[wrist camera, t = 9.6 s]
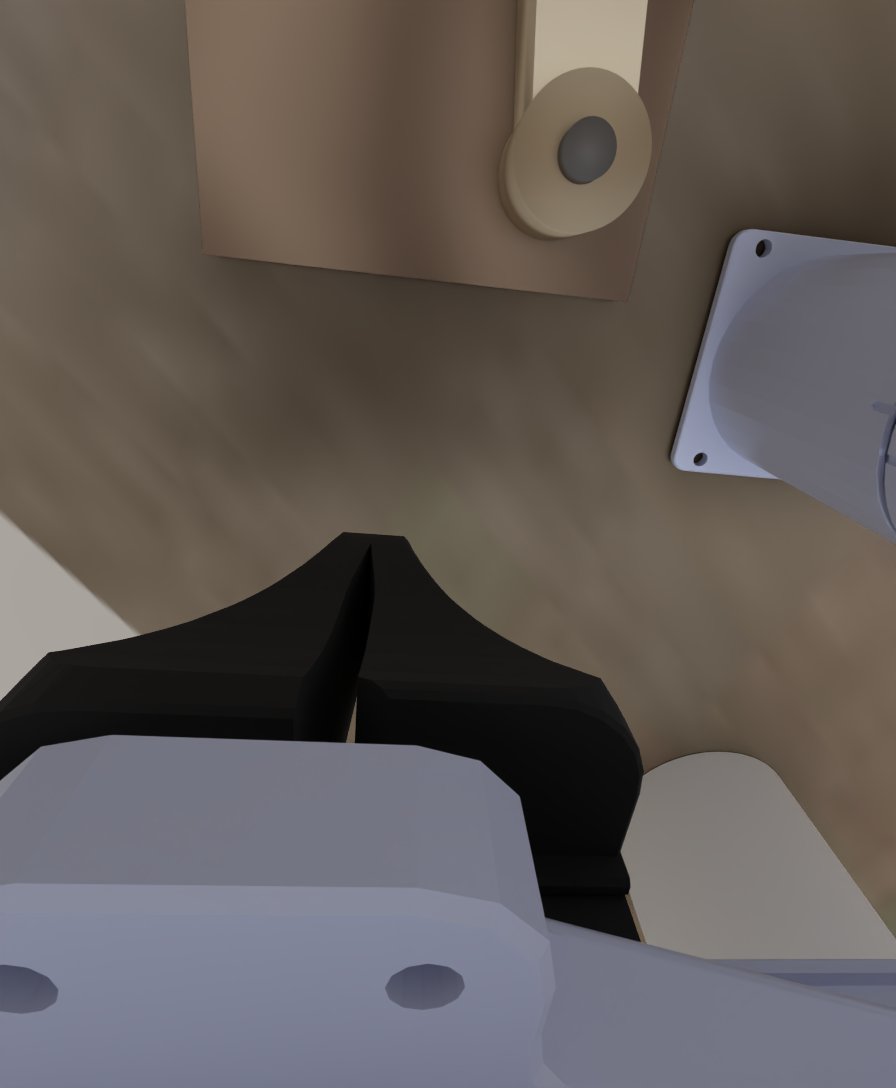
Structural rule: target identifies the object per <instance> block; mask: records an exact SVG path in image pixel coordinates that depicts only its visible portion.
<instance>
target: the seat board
mask: <svg viewBox="0 0 896 1088" xmlns="http://www.w3.org/2000/svg"><path fill="white" fill-rule="evenodd" d="M693 3H694V0H648V3H647V13H646V22H645V32H644V41H643V51H642V60H641V70H640V79H639V89H638V95H639V96H640V98H641V100H642V101H643V104H644V106H645V108H646V111H647V114H648V117H649V121H650V126H651V132H652V151H651V158H650V164H649V168H648V171H647V175H646V177H645V180H644V182H643V185H642V187H641V189H640V191H639V193H638V194H637V196H636V197H635V199H634V200H633V202H632V203H631V204H630V205H629V207H628V208H627V209H626V210H625V211H624V212H623V213H622V214H621V215H620V216H619V217H617V218H616V219H615V220H613V221H612V222H611V223H609V224H607V225H605V226H603V227H601V228H598V229H596V230H593V231H589V232H586V233H582V234H579V235H575V236H571V237H568V238H564V239H560V240H552V241H548V240H540V239H536V238H533V237H531V236H529V235H527V234H525V233H524V232H522V231H521V230H520V229H518V228H517V227H516V226H515V225H514V223H513V222H512V221H511V220H510V218H509V217H508V215H507V213H506V212H505V210H504V207H503V205H502V202H501V198H500V195H499V188H498V169H499V163H500V158H501V155H502V152H503V149H504V147H505V145H506V142H507V141H508V139H509V137H510V136H511V134H512V132H513V126H514V94H515V61H516V29H517V0H185V9H186V23H187V37H188V51H189V65H190V79H191V93H192V107H193V121H194V135H195V149H196V163H197V177H198V191H199V205H200V219H201V233H202V247H203V254H205V255H214V256H222V257H231V258H240V259H249V260H258V261H267V262H276V263H284V264H293V265H302V266H311V267H320V268H329V269H337V270H346V271H355V272H364V273H373V274H382V275H391V276H399V277H408V278H417V279H426V280H435V281H444V282H452V283H461V284H470V285H479V286H488V287H497V288H506V289H514V290H523V291H532V292H541V293H550V294H559V295H567V296H576V297H585V298H594V299H603V300H612V301H621V302H628V301H629V297H630V292H631V288H632V283H633V278H634V274H635V269H636V265H637V260H638V255H639V251H640V246H641V242H642V237H643V233H644V228H645V223H646V219H647V214H648V210H649V205H650V200H651V196H652V191H653V187H654V182H655V178H656V173H657V168H658V164H659V159H660V155H661V150H662V145H663V141H664V136H665V132H666V127H667V123H668V118H669V113H670V109H671V104H672V100H673V95H674V90H675V86H676V81H677V77H678V72H679V67H680V63H681V58H682V54H683V49H684V45H685V40H686V35H687V31H688V26H689V22H690V17H691V12H692V8H693Z"/></svg>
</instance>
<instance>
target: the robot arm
mask: <svg viewBox="0 0 896 1088" xmlns="http://www.w3.org/2000/svg"><path fill="white" fill-rule="evenodd" d="M761 240H762V241H764V244H765V251H764V253H763V255H761V256H760V257H758V256H757V254H756V246H757V244H758V243H759V242H760V241H761ZM698 453H703V457H702V459H701V460H700V461H699V462H698V463H694V462H693V461H694V457H695V455H697V454H698ZM671 462H672V464H673V465H674V466H675V467H676V468H678V469H679V470H683V471H693V472H704V473H715V474H726V475H737V476H749V477H760V478H771V479H781V480H782V481H784V482H786V483H788V484H790V485H791V486H793V487H795V488H797V489H798V490H800V491H802V492H804V493H806V494H807V495H809V496H811V497H813V498H814V499H816V500H818V501H820V502H822V503H823V504H825V505H827V506H829V507H830V508H832V509H834V510H836V511H838V512H839V513H841V514H843V515H845V516H846V517H848V518H850V519H852V520H854V521H855V522H857V523H859V524H861V525H862V526H864V527H866V528H868V529H870V530H871V531H873V532H875V533H877V534H878V535H880V536H882V537H884V538H886V539H887V540H889V541H891V542H893V543H894V544H896V247H892V246H885V245H877V244H869V243H861V242H853V241H845V240H837V239H829V238H821V237H813V236H805V235H797V234H789V233H781V232H774V231H766V230H758V229H748V230H742V231H740V232H738V233H736V235H735V236H734V237H733V238H732V239H731V241H730V243H729V246H728V250H727V253H726V257H725V260H724V264H723V268H722V271H721V275H720V279H719V282H718V286H717V289H716V293H715V297H714V300H713V304H712V307H711V311H710V315H709V318H708V322H707V326H706V329H705V333H704V336H703V340H702V344H701V347H700V351H699V355H698V358H697V362H696V365H695V369H694V373H693V376H692V380H691V384H690V387H689V391H688V394H687V398H686V402H685V405H684V409H683V412H682V416H681V420H680V423H679V427H678V431H677V434H676V438H675V441H674V445H673V449H672V452H671ZM356 697H357V708H356V730H355V743H346V740H347V735H348V731H349V727H350V723H351V719H352V714H353V710H354V706H355V702H356ZM643 772H644V771H643V766H642V761H641V756H640V751H639V748H638V746H637V744H636V741H635V739H634V737H633V735H632V733H631V731H630V729H629V727H628V725H627V723H626V721H625V719H624V717H623V715H622V713H621V711H620V709H619V708H618V706H617V704H616V702H615V701H614V699H613V698H612V696H611V695H610V693H609V691H608V690H607V688H606V687H605V685H604V683H603V681H602V680H601V678H598V677H595V676H592V675H589V674H587V673H584V672H581V671H578V670H575V669H572V668H570V667H567V666H564V665H561V664H558V663H555V662H553V661H550V660H548V659H545V658H543V657H541V656H539V655H537V654H535V653H533V652H530V651H528V650H526V649H524V648H522V647H520V646H518V645H516V644H514V643H513V642H511V641H509V640H507V639H505V638H504V637H502V636H500V635H499V634H497V633H496V632H494V631H492V630H491V629H489V628H488V627H486V626H484V625H483V624H482V623H480V622H479V621H477V620H476V619H475V618H473V617H472V616H471V615H470V614H468V613H467V612H466V611H465V610H463V609H462V608H461V607H460V606H459V605H457V604H456V603H455V602H454V601H453V600H452V599H451V598H450V597H449V596H448V595H447V594H446V593H445V592H444V591H443V590H442V589H441V588H440V587H439V586H438V584H437V583H436V582H435V581H434V580H433V578H432V577H431V576H430V574H429V573H428V572H427V570H426V569H425V568H424V566H423V565H422V564H421V562H420V561H419V559H418V557H417V556H416V554H415V553H414V551H413V549H412V547H411V545H410V543H409V542H408V540H407V539H406V538H405V537H404V536H392V535H377V534H363V533H349V532H343V533H342V534H340V535H339V536H338V537H337V538H335V539H334V540H333V541H332V542H331V543H329V544H328V545H327V546H326V547H325V548H323V549H322V550H321V551H320V552H319V553H317V554H316V555H315V556H314V557H312V558H311V559H310V560H309V561H307V562H306V563H305V564H303V565H302V566H301V567H299V568H298V569H296V570H295V571H293V572H292V573H290V574H289V575H287V576H286V577H284V578H283V579H281V580H280V581H278V582H277V583H275V584H273V585H272V586H270V587H268V588H266V589H264V590H263V591H261V592H259V593H257V594H255V595H253V596H251V597H249V598H247V599H245V600H243V601H241V602H239V603H236V604H234V605H232V606H229V607H227V608H224V609H221V610H219V611H216V612H214V613H211V614H208V615H206V616H203V617H201V618H198V619H195V620H193V621H190V622H187V623H183V624H180V625H177V626H173V627H170V628H167V629H163V630H159V631H155V632H152V633H148V634H144V635H140V636H136V637H132V638H127V639H123V640H118V641H112V642H107V643H101V644H96V645H91V646H85V647H80V648H74V649H69V650H63V651H56V652H49V653H48V654H47V655H46V656H45V657H43V658H42V659H41V660H40V661H39V662H38V663H37V664H36V665H35V666H34V667H33V668H32V669H31V670H30V671H29V672H28V673H27V674H26V675H25V676H24V677H23V678H22V679H21V680H20V681H19V682H18V683H17V685H15V687H14V688H13V689H12V690H11V691H10V692H9V693H8V694H7V695H6V696H5V697H4V698H3V699H2V700H1V701H0V1088H896V959H703V958H700V957H696V956H692V955H688V954H684V953H680V952H676V951H672V950H669V949H665V948H661V947H657V946H653V945H649V944H645V943H641V941H640V938H639V935H638V932H637V929H636V926H635V923H634V921H633V918H632V915H631V912H630V909H629V906H628V903H627V900H626V897H625V894H626V895H628V893H629V890H630V887H631V886H630V876H629V874H628V871H627V868H626V866H625V863H624V860H623V857H622V855H621V852H620V851H621V848H622V845H623V842H624V839H625V836H626V833H627V830H628V828H629V825H630V822H631V819H632V816H633V813H634V810H635V807H636V804H637V801H638V798H639V795H640V790H641V784H642V778H643Z"/></svg>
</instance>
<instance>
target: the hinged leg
mask: <svg viewBox="0 0 896 1088" xmlns="http://www.w3.org/2000/svg"><path fill="white" fill-rule="evenodd" d="M647 3H648V0H517V29H516V61H515V94H514V126H513V132H512V134H511V136H510V137H509V139H508V141H507V142H506V145H505V147H504V149H503V152H502V155H501V158H500V163H499V169H498V188H499V195H500V198H501V202H502V205H503V207H504V210H505V212H506V213H507V215H508V217H509V218H510V220H511V221H512V222H513V223H514V225H515V226H516V227H517V228H518V229H520V230H521V231H522V232H524V233H525V234H527V235H529V236H531V237H533V238H536V239H540V240H548V241H552V240H560V239H564V238H568V237H571V236H575V235H579V234H582V233H586V232H589V231H593V230H596V229H598V228H601V227H603V226H605V225H607V224H609V223H611V222H612V221H613V220H615V219H616V218H617V217H619V216H620V215H621V214H622V213H623V212H624V211H625V210H626V209H627V208H628V207H629V205H630V204H631V203H632V202H633V200H634V199H635V197H636V196H637V194H638V193H639V191H640V189H641V187H642V185H643V182H644V180H645V177H646V175H647V171H648V168H649V164H650V158H651V151H652V132H651V126H650V121H649V117H648V114H647V111H646V108H645V106H644V104H643V101H642V100H641V98H640V96H639V95H638V89H639V79H640V70H641V60H642V51H643V41H644V32H645V22H646V13H647Z"/></svg>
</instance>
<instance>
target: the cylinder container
mask: <svg viewBox="0 0 896 1088" xmlns="http://www.w3.org/2000/svg"><path fill="white" fill-rule="evenodd" d="M620 852H621V855H622V857H623V860H624V863H625V866H626V868H627V871H628V874H629V876H630V886H631V887H630V890H629V893H630V896H631V899H632V902H633V905H634V908H635V911H636V914H637V917H638V919H639V922H640V925H641V928H642V931H643V934H644V937H645V940H646V943H647V944H649V945H653V946H657V947H661V948H665V949H669V950H672V951H676V952H680V953H684V954H688V955H692V956H696V957H700V958H703V959H896V939H895V938H894V936H893V935H892V934H891V932H890V931H889V930H888V928H887V927H886V925H885V924H884V923H883V921H882V920H881V918H880V917H879V916H878V914H877V913H876V911H875V910H874V909H873V907H872V906H871V904H870V903H869V902H868V900H867V899H866V897H865V896H864V895H863V893H862V892H861V890H860V889H859V888H858V886H857V885H856V883H855V882H854V881H853V879H852V878H851V876H850V875H849V874H848V872H847V871H846V869H845V868H844V867H843V865H842V864H841V862H840V861H839V860H838V858H837V857H836V855H835V854H834V853H833V851H832V850H831V848H830V847H829V846H828V844H827V843H826V841H825V840H824V839H823V837H822V836H821V834H820V833H819V832H818V830H817V829H816V827H815V826H814V825H813V823H812V822H811V820H810V819H809V818H808V816H807V815H806V813H805V812H804V811H803V809H802V808H801V806H800V805H799V804H798V802H797V801H796V799H795V798H794V797H793V795H792V794H791V792H790V791H789V790H788V788H787V787H786V785H785V784H784V783H783V781H782V780H781V779H780V777H779V776H778V774H777V773H776V772H775V771H774V770H773V769H772V768H771V767H769V766H768V765H767V764H765V763H763V762H762V761H760V760H758V759H756V758H753V757H750V756H747V755H743V754H739V753H732V752H704V753H698V754H693V755H688V756H684V757H681V758H678V759H675V760H672V761H669V762H667V763H664V764H662V765H660V766H658V767H656V768H654V769H653V770H651V771H649V772H648V773H646V774H645V775H643V778H642V784H641V790H640V795H639V798H638V801H637V804H636V807H635V810H634V813H633V816H632V819H631V822H630V825H629V828H628V830H627V833H626V836H625V839H624V842H623V845H622V848H621V851H620Z"/></svg>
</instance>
